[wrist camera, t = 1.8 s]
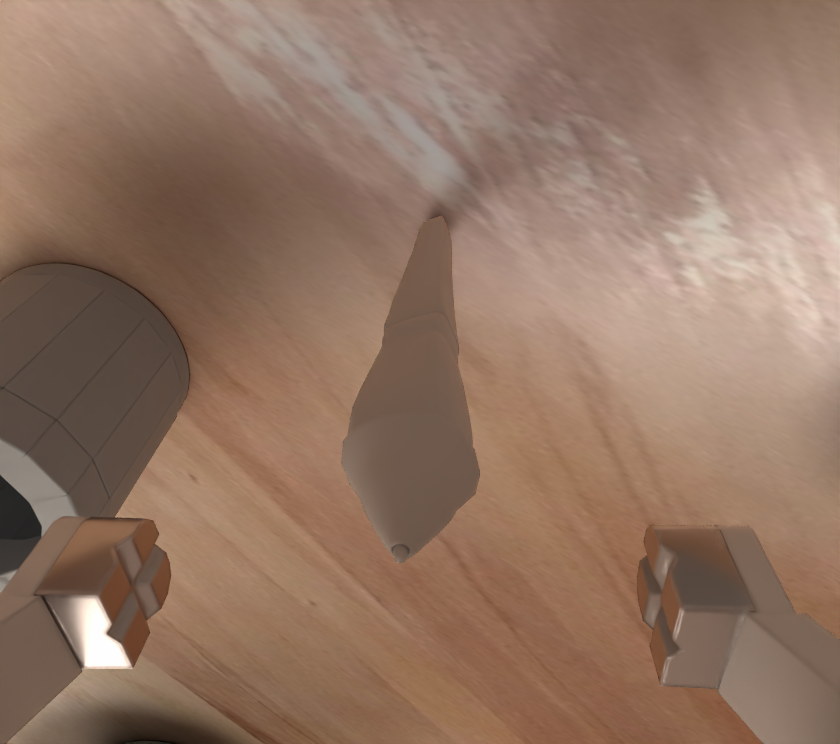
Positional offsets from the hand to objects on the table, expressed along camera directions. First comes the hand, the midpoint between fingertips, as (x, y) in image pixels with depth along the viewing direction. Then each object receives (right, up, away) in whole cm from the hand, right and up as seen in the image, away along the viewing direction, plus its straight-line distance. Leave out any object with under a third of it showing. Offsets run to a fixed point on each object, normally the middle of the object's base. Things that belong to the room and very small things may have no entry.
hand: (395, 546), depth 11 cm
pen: (+1, +8, +11) cm, 14 cm away
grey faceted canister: (-13, +4, +15) cm, 20 cm away
